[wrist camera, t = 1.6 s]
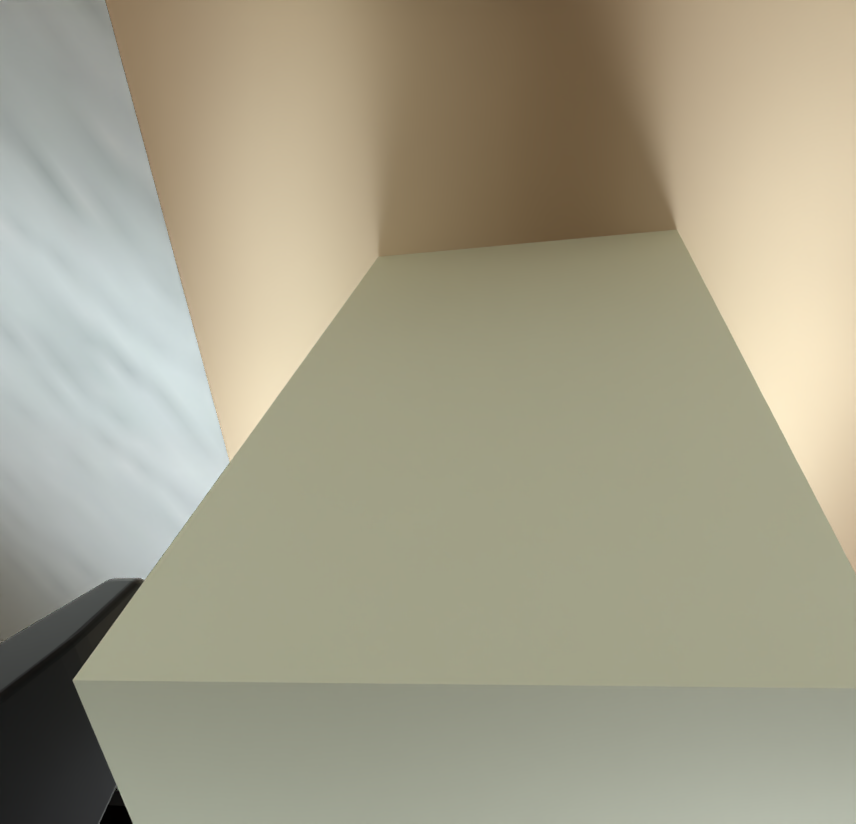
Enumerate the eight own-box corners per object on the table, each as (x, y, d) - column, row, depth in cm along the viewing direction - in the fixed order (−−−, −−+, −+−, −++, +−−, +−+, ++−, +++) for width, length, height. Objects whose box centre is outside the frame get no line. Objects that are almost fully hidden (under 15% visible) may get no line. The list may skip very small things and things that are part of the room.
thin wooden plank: (320, 668, 17) (276, 790, 14) (-38, -795, 8) (-313, -1162, 6) (832, 671, 15) (889, 813, 12) (1039, -1202, 7) (1368, -2024, 4)
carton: (432, 599, 14) (299, 1220, 7) (378, 256, 11) (72, 682, 4) (679, 597, 13) (818, 1293, 6) (681, 228, 11) (925, 689, 3)
